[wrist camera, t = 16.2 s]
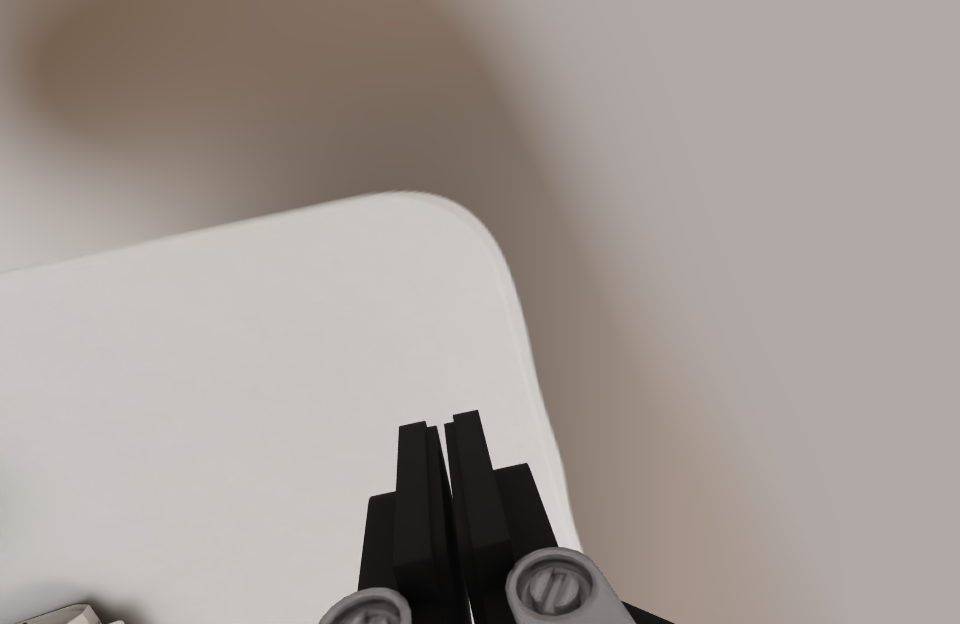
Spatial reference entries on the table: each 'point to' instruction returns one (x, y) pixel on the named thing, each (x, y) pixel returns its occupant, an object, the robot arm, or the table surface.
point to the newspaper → (69, 616)
